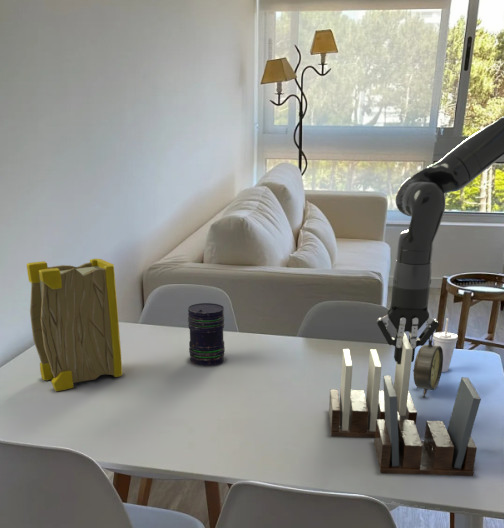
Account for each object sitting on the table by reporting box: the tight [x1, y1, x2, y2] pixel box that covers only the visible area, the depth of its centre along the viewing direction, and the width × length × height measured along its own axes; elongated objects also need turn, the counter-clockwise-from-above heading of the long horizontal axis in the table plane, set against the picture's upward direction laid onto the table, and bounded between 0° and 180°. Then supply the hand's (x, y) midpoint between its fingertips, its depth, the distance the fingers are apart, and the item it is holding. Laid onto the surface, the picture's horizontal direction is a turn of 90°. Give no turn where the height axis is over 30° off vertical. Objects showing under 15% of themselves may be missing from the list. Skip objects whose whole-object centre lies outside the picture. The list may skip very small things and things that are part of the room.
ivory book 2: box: [365, 348, 382, 431], centre depth 155 cm, size 1×11×15 cm, turn 177°
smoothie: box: [432, 318, 459, 373], centre depth 188 cm, size 6×6×14 cm
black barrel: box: [187, 302, 226, 367], centre depth 194 cm, size 10×10×15 cm
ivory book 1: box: [339, 348, 353, 431], centre depth 155 cm, size 1×11×15 cm, turn 177°
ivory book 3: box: [393, 332, 413, 416], centre depth 153 cm, size 1×11×15 cm, turn 177°
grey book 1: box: [382, 374, 399, 467], centre depth 141 cm, size 1×11×15 cm, turn 176°
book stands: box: [328, 388, 478, 477], centre depth 150 cm, size 27×29×6 cm
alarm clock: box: [412, 333, 443, 399], centre depth 173 cm, size 11×5×16 cm, turn 151°
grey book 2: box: [446, 376, 482, 469], centre depth 140 cm, size 1×11×15 cm, turn 177°
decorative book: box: [26, 258, 123, 392], centre depth 178 cm, size 20×11×30 cm, turn 124°
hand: (403, 362), depth 152 cm, fingers closed on ivory book 3, 1 cm apart
